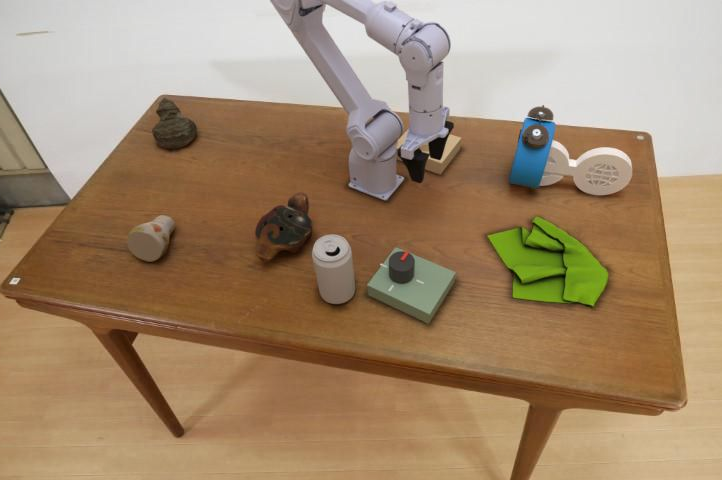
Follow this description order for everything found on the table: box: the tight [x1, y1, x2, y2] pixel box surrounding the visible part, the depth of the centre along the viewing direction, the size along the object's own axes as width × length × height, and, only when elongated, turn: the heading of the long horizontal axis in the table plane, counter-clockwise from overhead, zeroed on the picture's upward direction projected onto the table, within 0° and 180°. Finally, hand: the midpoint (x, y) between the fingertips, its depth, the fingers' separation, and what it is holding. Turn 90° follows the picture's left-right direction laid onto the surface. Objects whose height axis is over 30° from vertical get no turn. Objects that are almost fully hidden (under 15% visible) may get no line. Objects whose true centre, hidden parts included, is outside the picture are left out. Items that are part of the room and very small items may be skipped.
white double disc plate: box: [539, 139, 633, 196], centre depth 96 cm, size 22×2×10 cm, turn 73°
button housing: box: [396, 129, 462, 175], centre depth 107 cm, size 12×10×5 cm
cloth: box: [486, 216, 610, 307], centre depth 87 cm, size 20×22×2 cm
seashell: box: [151, 97, 198, 150], centre depth 112 cm, size 11×12×10 cm
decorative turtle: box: [254, 191, 313, 263], centre depth 90 cm, size 10×15×8 cm, turn 155°
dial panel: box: [366, 246, 457, 325], centre depth 84 cm, size 12×10×3 cm
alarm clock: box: [508, 104, 557, 193], centre depth 96 cm, size 13×6×15 cm, turn 160°
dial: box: [389, 250, 415, 284], centre depth 82 cm, size 4×4×4 cm
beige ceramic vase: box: [125, 214, 176, 262], centre depth 92 cm, size 8×10×10 cm
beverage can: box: [311, 233, 356, 305], centre depth 81 cm, size 6×6×12 cm
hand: (426, 169), depth 91 cm, fingers open, 7 cm apart
